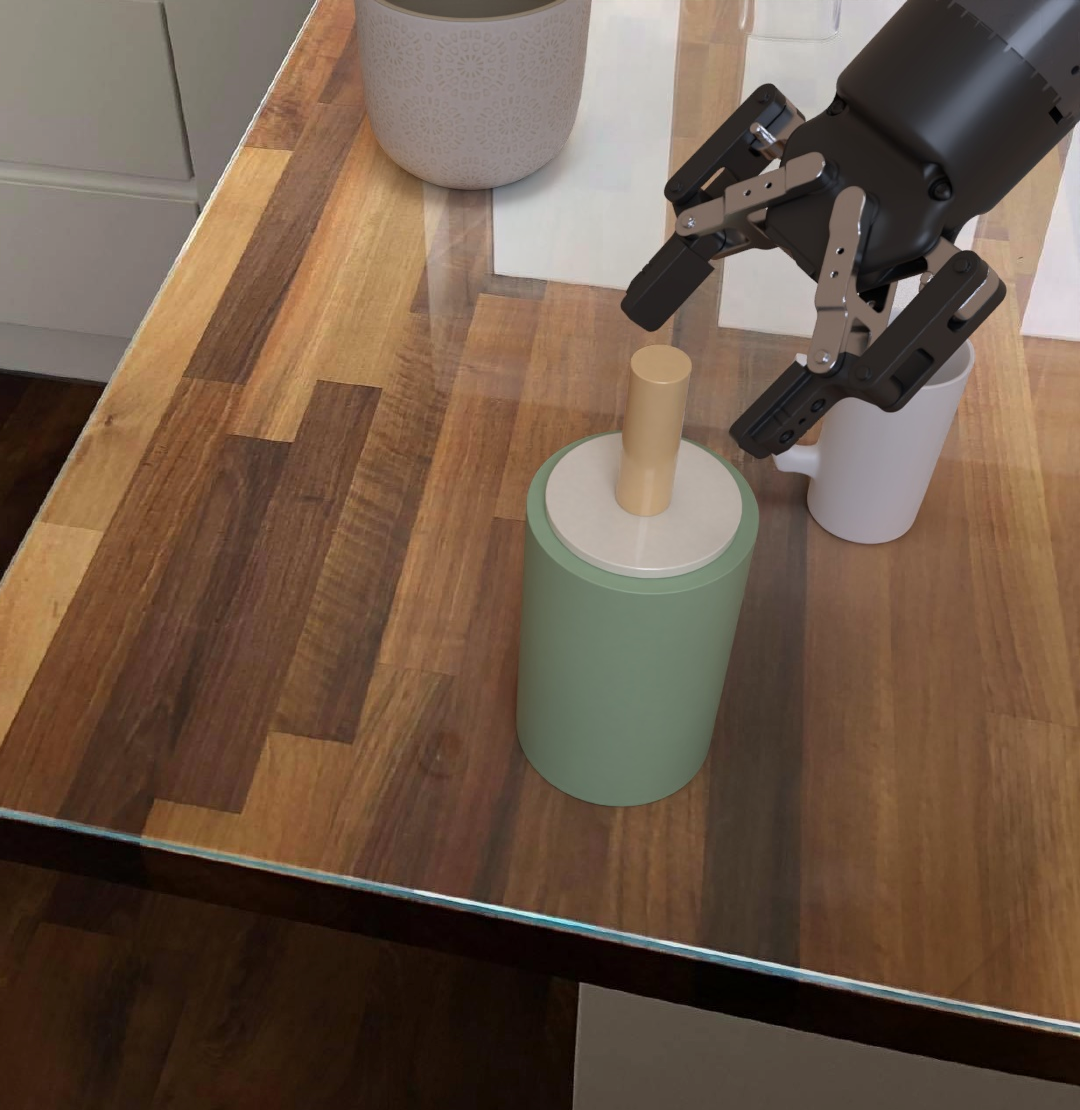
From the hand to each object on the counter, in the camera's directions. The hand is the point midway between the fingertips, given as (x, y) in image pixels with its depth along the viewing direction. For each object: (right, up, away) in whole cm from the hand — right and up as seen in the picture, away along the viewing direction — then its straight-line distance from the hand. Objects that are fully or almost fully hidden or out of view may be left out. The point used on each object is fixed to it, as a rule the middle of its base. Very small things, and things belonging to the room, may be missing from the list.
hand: (686, 381), depth 56 cm
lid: (-1, -5, +5) cm, 7 cm away
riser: (-1, -16, +16) cm, 23 cm away
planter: (-6, +24, +54) cm, 59 cm away
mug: (+14, -4, +27) cm, 30 cm away
